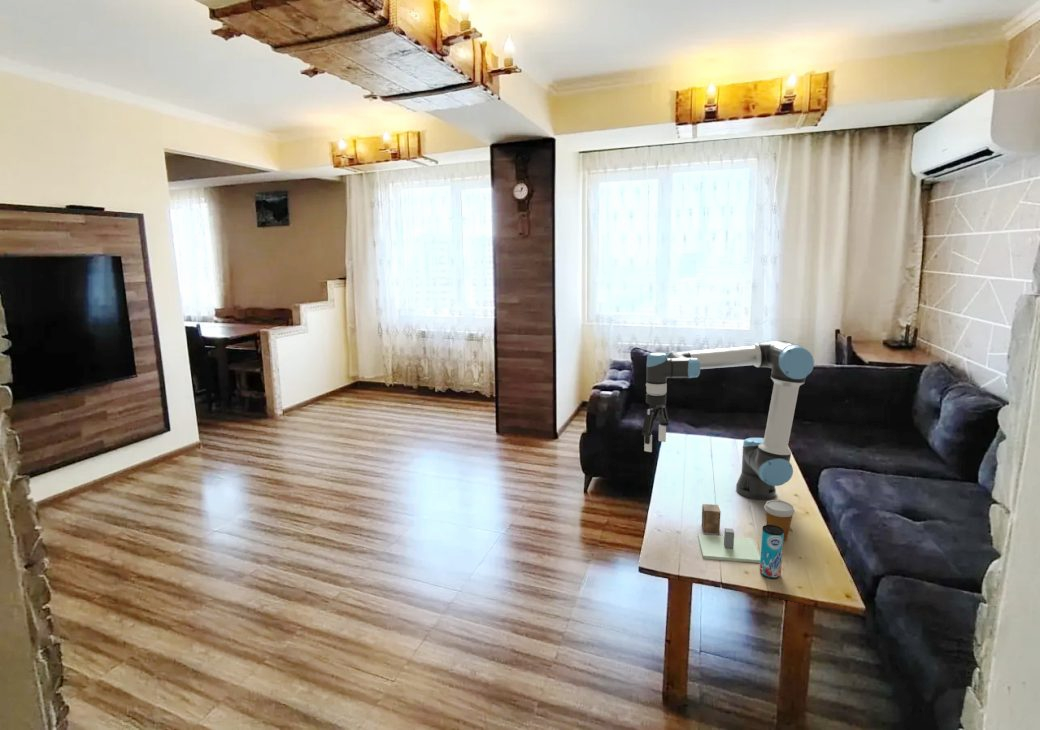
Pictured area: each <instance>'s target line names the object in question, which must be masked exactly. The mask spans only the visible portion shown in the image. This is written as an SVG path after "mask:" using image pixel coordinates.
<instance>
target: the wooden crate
mask: <svg viewBox="0 0 1040 730" xmlns="http://www.w3.org/2000/svg"><path fill="white" fill-rule="evenodd" d="M701 509H702V510H701V511H702V512H701V529H702V531H703V532H702V533H703V534H712V535H713V534H714V535H720V531H721V530H720V528H721V513H722V512H721V509H720V507H719V504H712V503H711V504H710V503H709V504H708V503H702V508H701Z"/></svg>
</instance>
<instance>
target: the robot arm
mask: <svg viewBox="0 0 1040 730" xmlns="http://www.w3.org/2000/svg"><path fill="white" fill-rule="evenodd" d="M814 365H815V359H814V357H813V354H812V353H811V352H810V351H809V350H808V349H807V348H806V347H804V346H801V345H798V344H795V343H793V342H789V341H787V340H774V341H766V342H765V341H763V342H755V343H754V344H752V345H751V346H738V347H725V348H714V349H702V350H690V351H689V350H688V351H678V350H671V351H669V352H668V353H665V352H651V353H648V354H647V357H646V366H645V367H646V380H645V381H646V383H645V387H646V389H645V390H646V391H645V392H646V394H645V403H646V404H648V405H649V408H646V409H645V414H644V421H643V424H642V430H641V435H643V436H644V442H643V443H644V445H643V447H644V449H643V450H644V452H647V453H652V452H653V435H652V432H653V430H654V426H655V424H656V423H655V422H656V421H657V420H658V423H659V425H658V442H662V443H666V440H667V438H666V437H667V426H669V425H670V424H669V415H668V411H667V391H668V389H667V387H668V386H667V385H668V384H667V381H668V380H667V379H692V378H698V377H699V376H700V374H701V370H707V369H717V368H718V369H720V368H734V367H745V366H747V367H748V366H754V367H756V368H769V369H771V373H770V379H771V380H772V382H773V386H772V393H771V398H770V399H771V400H770V403H769V410H768V415H767V421H766V427H765V430H764V435H763V436H764V437H749V438H745V439H744V440H743V442H742V443H743V444H742V457H741V458H742V459H741V472H740V475H739V477H738V480H737V482H736V486H735V489H736V492H737V493H738V494H740V495H741V496H743V497H745V498H748V499H752V500H753V499H754V500H770V499H771V500H772V499H773V498H775V497H776V493H777V492H776V491H777V489H776V487H778V486H783V485H785V484H786V483H788V482H789V481H790V480H791V479H792V478H793V475H794V468H793V466H792V465H793V464H792V463H791V462H790V461H791V456H792V455H791V454H792V451H791V449H790V448H789V441H790V436H791V432H792V427H793V420H794V416H795V409H796V406H797V405H796V404H797V402H798V401H797V400H798V395H799V390H800V386H802V385H804V384H805V382H806V378H807V377H808V376H809V375H810V374H811V373H812V371H813V369H814Z"/></svg>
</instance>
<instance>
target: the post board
mask: <svg viewBox="0 0 1040 730" xmlns="http://www.w3.org/2000/svg"><path fill="white" fill-rule="evenodd" d="M697 538H698V539H697V540H698V543H699V547H700V551H701V554H702V558H703V559H707V560H720V561H731V562H741V563H742V562H744V563H754V564H755V563H756V564H760V558H761V553H759V550H758V548H757V545H756V543H755V541H754V538H752V537H739V536H735V531H734V529H733V528H729V527H725V528H724V535H713V534H712V535H708V534H697Z"/></svg>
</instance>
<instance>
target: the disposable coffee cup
mask: <svg viewBox="0 0 1040 730" xmlns="http://www.w3.org/2000/svg"><path fill="white" fill-rule="evenodd" d="M763 508H764V511H765V523H766V524H765V525H775V526H778V527H780V528H782V529H783V530H784V537H783V543H784V542H787V541H788V536H789V533H790V528H791V523H792V520H793V515H794V514H795V511H796V510H795V509H794V506H793V505H792V504H791V503H789V502H786V501H783V500H779V499H778V500H776V499H771V500H770V499H769V500H767V501H766V502H765V504H764V506H763Z"/></svg>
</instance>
